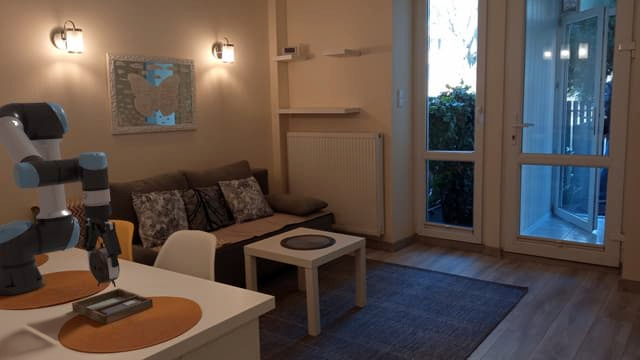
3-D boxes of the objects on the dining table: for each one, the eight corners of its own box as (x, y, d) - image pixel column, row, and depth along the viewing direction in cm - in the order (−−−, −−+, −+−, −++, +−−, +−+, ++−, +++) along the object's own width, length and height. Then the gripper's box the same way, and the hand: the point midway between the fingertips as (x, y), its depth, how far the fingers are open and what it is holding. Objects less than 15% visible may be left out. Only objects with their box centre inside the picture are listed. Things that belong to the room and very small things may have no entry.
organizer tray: (73, 313, 157) (71, 303, 157) (120, 297, 169) (119, 288, 169) (105, 327, 146) (104, 316, 146) (152, 309, 158) (152, 299, 158)
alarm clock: (122, 286, 157) (117, 234, 155) (105, 291, 153) (100, 238, 151) (104, 279, 164) (100, 229, 162) (88, 284, 160) (83, 233, 158)
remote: (101, 317, 151) (101, 309, 151) (135, 305, 160) (134, 298, 159) (109, 320, 149) (108, 312, 148) (142, 308, 157) (142, 301, 157)
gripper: (65, 202, 160) (73, 271, 162) (106, 209, 145) (113, 284, 148) (89, 198, 165) (95, 265, 168) (130, 204, 151) (136, 277, 154)
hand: (104, 274), depth 158 cm, fingers closed on alarm clock, 11 cm apart
